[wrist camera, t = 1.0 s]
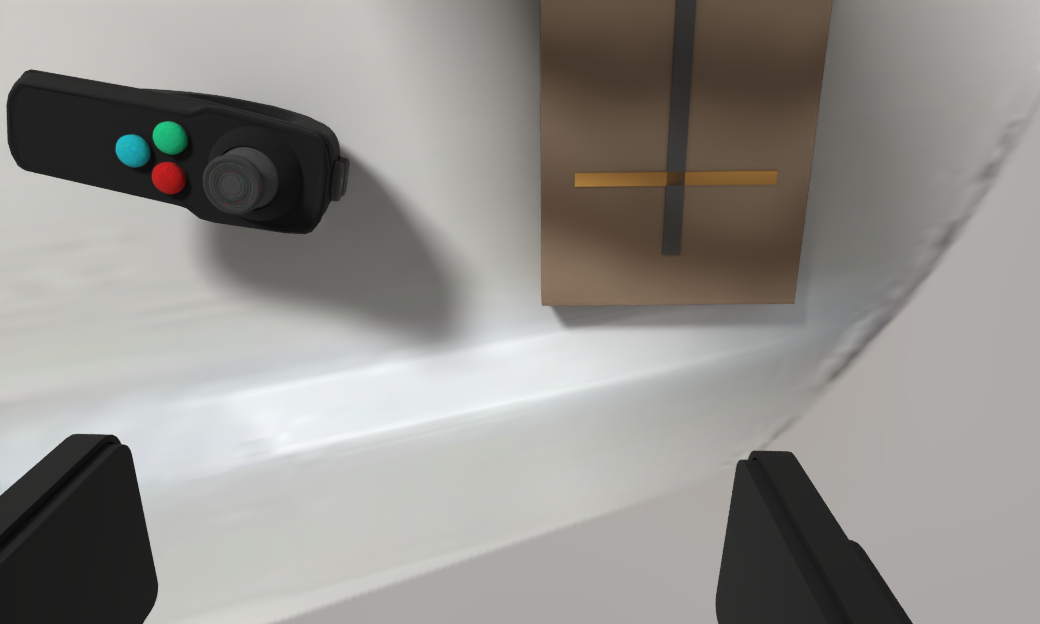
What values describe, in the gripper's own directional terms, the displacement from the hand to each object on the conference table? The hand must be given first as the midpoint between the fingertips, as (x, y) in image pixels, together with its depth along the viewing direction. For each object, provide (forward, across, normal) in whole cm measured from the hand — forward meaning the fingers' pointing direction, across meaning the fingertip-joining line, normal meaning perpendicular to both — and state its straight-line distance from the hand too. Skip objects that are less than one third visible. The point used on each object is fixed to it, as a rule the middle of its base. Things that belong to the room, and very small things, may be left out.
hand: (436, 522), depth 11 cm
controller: (+25, +12, -2) cm, 28 cm away
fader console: (+25, -8, -6) cm, 27 cm away
